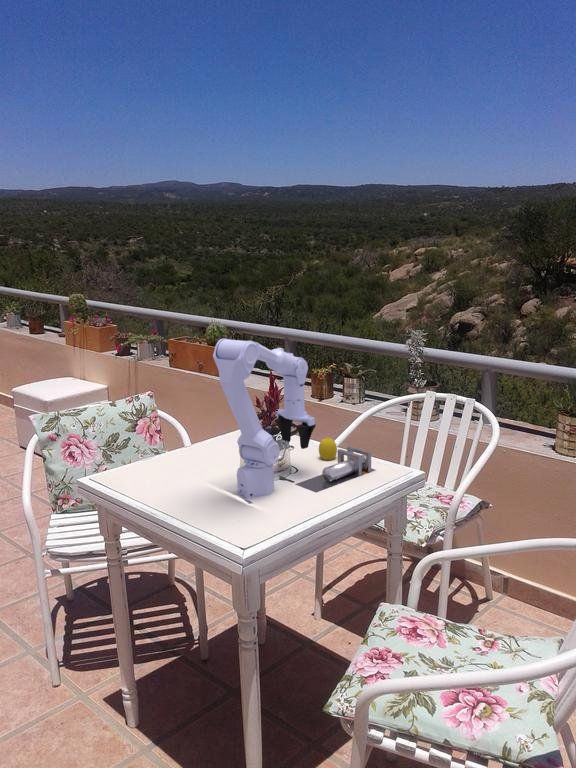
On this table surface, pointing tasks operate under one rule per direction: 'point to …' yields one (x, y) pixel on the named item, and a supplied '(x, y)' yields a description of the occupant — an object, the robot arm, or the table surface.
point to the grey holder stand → (321, 484)
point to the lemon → (327, 449)
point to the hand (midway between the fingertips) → (295, 445)
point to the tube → (341, 469)
